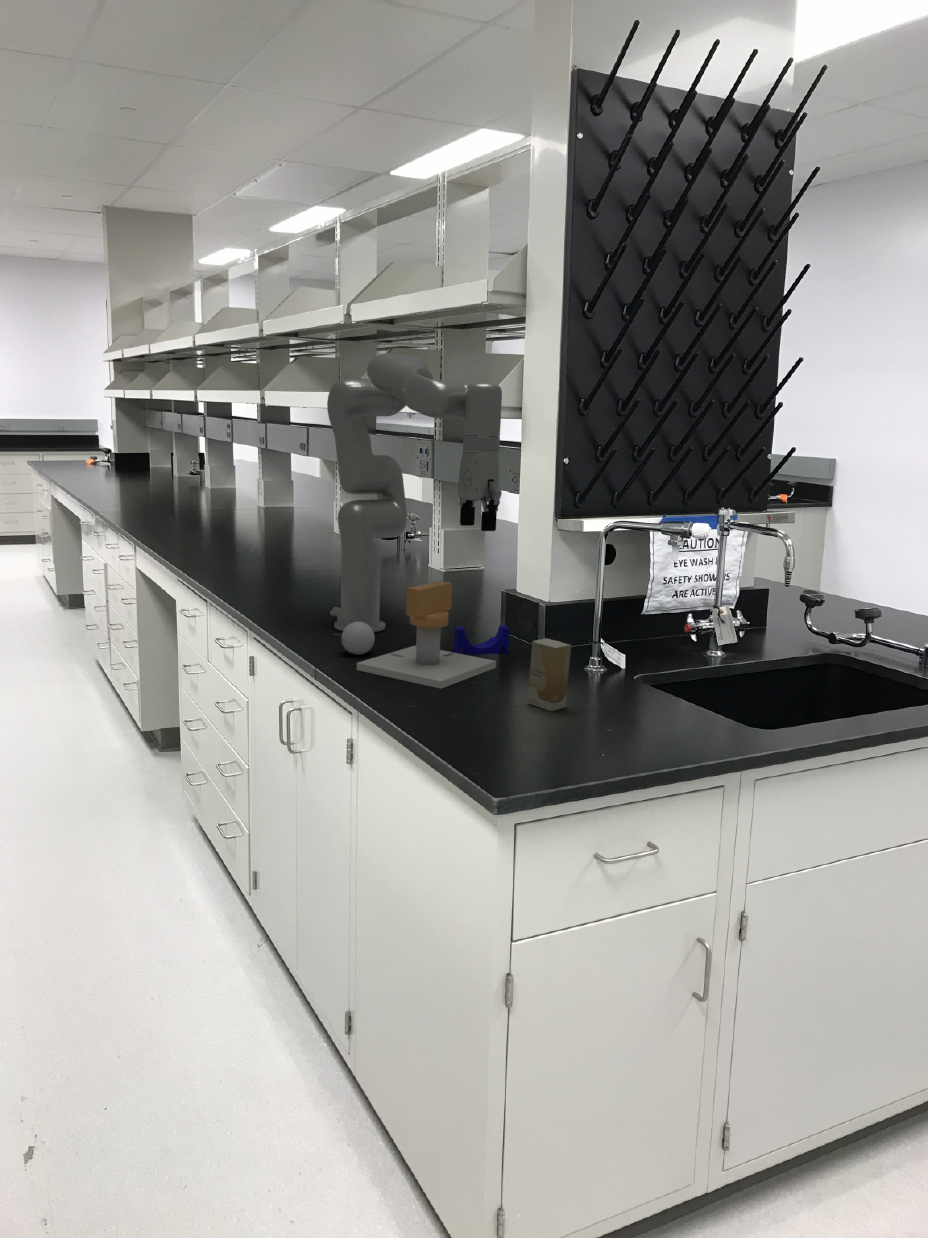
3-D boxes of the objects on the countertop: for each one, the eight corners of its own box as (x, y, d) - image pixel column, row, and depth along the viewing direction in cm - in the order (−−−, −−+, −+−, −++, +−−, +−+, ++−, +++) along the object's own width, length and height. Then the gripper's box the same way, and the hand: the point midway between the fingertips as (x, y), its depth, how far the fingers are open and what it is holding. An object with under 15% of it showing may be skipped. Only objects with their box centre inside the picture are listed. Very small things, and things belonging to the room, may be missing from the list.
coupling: (428, 630, 188) (429, 591, 186) (396, 625, 192) (397, 586, 190) (460, 621, 198) (462, 584, 196) (429, 616, 202) (430, 579, 200)
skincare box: (526, 704, 175) (529, 640, 173) (541, 700, 178) (545, 637, 176) (552, 712, 171) (556, 647, 168) (567, 708, 174) (572, 644, 171)
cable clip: (501, 649, 218) (503, 624, 216) (508, 654, 213) (509, 628, 212) (452, 650, 214) (453, 625, 213) (457, 655, 210) (458, 629, 209)
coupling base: (356, 670, 194) (357, 623, 192) (415, 651, 211) (417, 609, 209) (440, 688, 183) (442, 639, 181) (495, 667, 200) (498, 622, 198)
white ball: (381, 653, 208) (382, 621, 206) (361, 660, 202) (361, 627, 200) (345, 646, 213) (345, 615, 211) (324, 653, 206) (325, 620, 205)
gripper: (446, 442, 199) (443, 523, 202) (484, 446, 184) (480, 533, 187) (478, 443, 202) (474, 523, 206) (517, 447, 187) (513, 532, 190)
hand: (477, 528), depth 196 cm, fingers open, 9 cm apart
